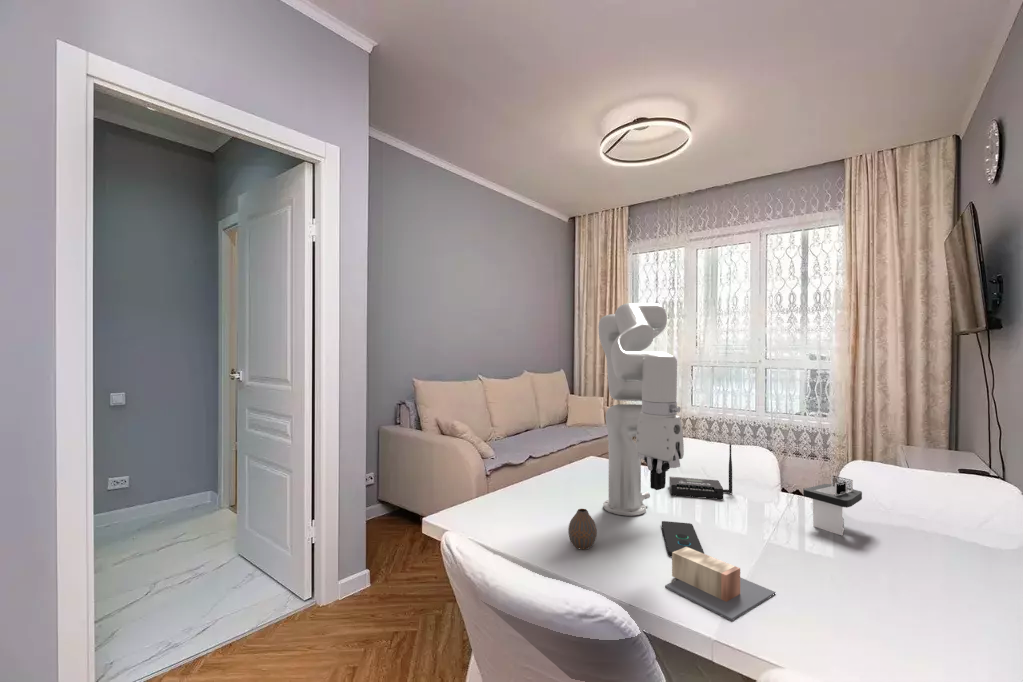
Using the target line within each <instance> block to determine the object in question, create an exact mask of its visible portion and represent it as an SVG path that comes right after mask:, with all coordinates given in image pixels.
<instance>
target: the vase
mask: <svg viewBox="0 0 1023 682" xmlns="http://www.w3.org/2000/svg"><path fill="white" fill-rule="evenodd" d="M567 529H568V531H567V533H568V538H569V541H570V543H571V544H572V545H573V546H574V547H575V548H576V549H578V548H580V549H579V550H588V548H589V549H591V548H592V546H593V545H594V544H595V542H596V540H597V537H598V536H597V533H598V532H597V531H598V529H597V525H596V522H595V521H594V519H593V517H592V516H591V515H590V513H589V511H588V510H587V508H579V509H577V510H576V513H575V514H574V515H573V516H572V518H571V520H570V521H569V523H568V528H567Z"/></svg>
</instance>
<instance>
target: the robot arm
mask: <svg viewBox="0 0 1023 682" xmlns="http://www.w3.org/2000/svg"><path fill="white" fill-rule="evenodd" d="M667 323H668V316H667V312H666V310H665V308H664V307H663V306H662V305H661V304H660V303H656V302H628V303H623V304H621V305H620V306H619V307H617V308H616V310H615V312H614V313H612V314H611V313H610V314H606V315H604V316H602V317H601V318H600V319H599V322H598V339H599V340H600V345H601V348H602V350H603V352H604V355H605V360H606V367H607V368H606V372H607V384H608V387H607V388H608V393H609V396H610V398H612V399H613V400H614V401H615V400H616V401H624V402H641V404H635V403H634V404H633V403H632V404H631V403H624V404H622V403H620V404H614V405H611V406H610V407H609V408H607V410H606V412H605V425H606V430H607V442H608V499H607V500H605V501H603V503H602V504H603V505H602V506H603V509H604V510H605V511H607V512H608V513H610V514H614V515H618V516H626V517H627V516H628V517H629V516H630V517H633V516H640V515H643V514H645V513H646V512H647V506H646V505H645V504H644V503H643V501H644V500H647V499H650V498H651V495H650V493H649V491H644V492H641V490H642V484H641V483H642V479H641V478H642V474H641V473H642V472H641V471H642V467H641V466H642V460H643V461H644V462H645V463H646V465H647V470H648V471H650V473H649V474H650V475H649V478H650V479H649V481H650V487H649V488H650V489H652V490H655V491H659V490H663V489H665V488H666V480H667V479H666V478H667V477H666V476H667V473H666V472H668V471H669V470H670V469H676V468H680V467H681V461H680V460H682V459H683V458H684V454H685V453H684V452H685V451H684V450H685V448H684V447H685V446H684V444H685V443H684V432H683V426H682V421H681V417H680V415H677V414H678V413H680V412H681V411H682V410H681V406H678V402H677V400H678V399H677V398H678V397H677V395H678V393H677V389H678V387H677V386H678V359H677V357H676V356H675V355H673V354H670V353H668V352H665V351H653V350H652V351H648V350H646V349H647V348H648V347H650V346H651V344H652V343H653V342H654V339H655V338H656V337H658V336H659V335H661V333H662V332H663V331H664V330H665V329H666V327H667ZM645 350H646V351H645ZM634 437H636V438H635V439H636V440H633V438H634Z"/></svg>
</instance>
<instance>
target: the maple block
mask: <svg viewBox="0 0 1023 682" xmlns="http://www.w3.org/2000/svg"><path fill="white" fill-rule="evenodd" d="M671 577H673V578H675V579H676V580H678V579H679V580H681V581H683V582H685V583H688V584H690V585H692V586H694V587H696V588H698V589H700V590H702V591H705V592H707V593H709V594H711V595H713V596H715V597H717V598H719V599H721V600H724V601H726V602H727V601H729V600H730V599H732V598H734V597H736V596H738V595H739V594H740V577H741V568H740V567H739V566H736V565H733V564H731V563H728V562H727V561H726V562H725V561H723V560H720V559H718V558H715V557H713V556H710V555H708V554H705V553H704V554H703V553H701V552H698V551H696V550H693V549H691V548H688V547H684V548H682V549H679V550H677V551H674V552H672V557H671Z"/></svg>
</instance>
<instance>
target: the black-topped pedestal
mask: <svg viewBox="0 0 1023 682" xmlns="http://www.w3.org/2000/svg"><path fill="white" fill-rule="evenodd" d="M830 479H831V482H830V483H822V484H819V485H815V486H811V487H805V488H803V492H802V494H803V496H802V497H804V498H808V499H812V516H813V517H812V518H813V519H812V521H813V522H812V525H813V527H814V528H817V529H819V530H824V531H827V532H830V533H833V534H836V535H839V536H843V535H844V532H845V523H844V521H845V519H844V517H843V508H851V507H852V506H854V505H856V504H857V503H859V502H860V501H862V500H863V492H862V490H858V489H853V484H854V480H853V479H849V478H846V477H841V476H835V475H833V474H831V477H830Z"/></svg>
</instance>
